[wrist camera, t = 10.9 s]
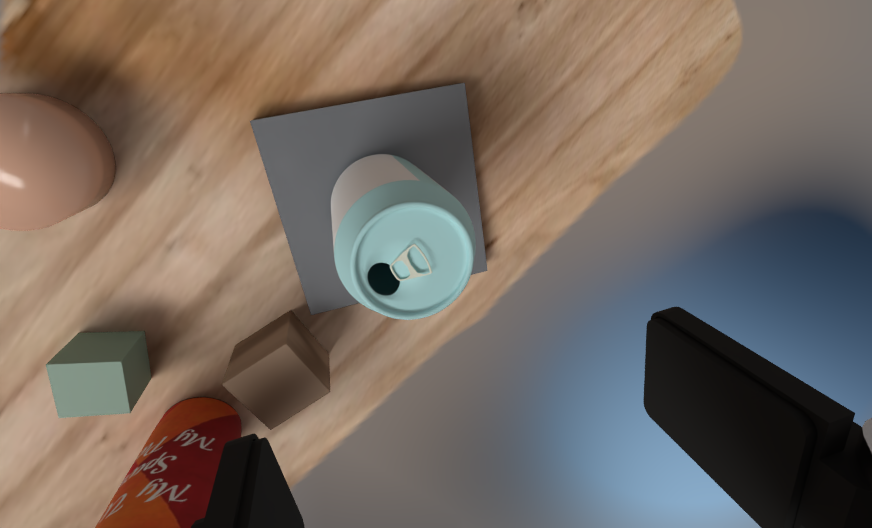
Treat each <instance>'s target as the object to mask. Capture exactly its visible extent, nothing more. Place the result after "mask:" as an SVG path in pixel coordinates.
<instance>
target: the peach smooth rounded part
mask: <svg viewBox="0 0 872 528" xmlns="http://www.w3.org/2000/svg"><path fill="white" fill-rule="evenodd" d="M115 169H116V166H115V158H114V154H113V150H112V148H111V145H110V143H109V141H108V139H107V138H106V136H105V135H104V133H103V132H102V130H101V129H100V128H99V127H98V126H97V124H96V123H95V122H94V121H93V120H92V119H91V118H89V117H88V116H87V115H86V114H84V113H83V112H82V111H80V110H79V109H77V108H76V107H74V106H72V105H70V104H68V103H66V102H64V101H62V100H59V99H56V98H54V97H50V96H46V95H40V94H30V93H0V229H6V230H15V231H30V230H37V229H42V228H46V227H49V226H52V225H54V224H56V223H59V222H61V221H63V220H65V219H67V218H69V217H71V216H73V215H75V214H77V213H79V212H81V211H83V210H85V209H87V208H89V207H91V206H93V205H95V204H96V203H98V202H99V201H100V200H101V199H103V198H104V196H105V195H106V194H107V193H108V191H109V190H110V188H111V186H112V184H113V181H114V177H115Z"/></svg>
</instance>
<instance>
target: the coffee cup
mask: <svg viewBox="0 0 872 528" xmlns="http://www.w3.org/2000/svg"><path fill="white" fill-rule="evenodd" d="M237 438H241V420H240V417H239V415H238V413H237V412H236V411H235V410H234V409H233V408H232V407H231V406H230V405H228V404H227V403H225V402H223V401H220V400H217V399H214V398H207V397H197V398H191V399H187V400H184V401H181V402H179V403H177V404H175V405H174V406H172V407H171V408H170V409H169V410H168V411H167V412H166V413H165V414H164V416H163V417H162V419H161V420H160V422H159V423H158V425H157V426H156V428H155V429H154V431H153V433H152V434H151V436H150V437H149V439H148V441H147V442H146V444H145V446H144V447H143V449H142V451H141V452H140V454H139V455H138V457H137V459H136V460H135V462H134V464H133V465H132V467H131V469H130V470H129V472H128V474H127V475H126V477H125V479H124V480H123V482H122V484H121V485H120V487H119V489H118V490H117V492H116V494H115V495H114V497H113V499H112V500H111V502H110V504H109V505H108V507H107V509H106V510H105V512H104V514H103V515H102V517H101V519H100V520H99V522H98V524H97V525H96V527H95V528H191V526H192V525H193V523H194V522H195V521H196V520H199V519H201V518H204V517H205V515H206V511H207V507H208V503H209V500H210V496H211V492H212V488H213V485H214V481H215V477H216V474H217V470H218V466H219V462H220V459H221V455H222V451H223V448H224V445H225V443H226V442H227V441H231V440H234V439H237Z"/></svg>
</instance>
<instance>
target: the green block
mask: <svg viewBox="0 0 872 528" xmlns="http://www.w3.org/2000/svg"><path fill="white" fill-rule="evenodd" d="M46 367H47V372H48V376H49V380H50V384H51V388H52V392H53V396H54V400H55V405H56V409H57V413H58V417H59V418H66V417H81V416H95V415H110V414H124V413H131V411H132V409H133V408H134V406H135V404H136V403H137V401H138V399H139V398H140V396H141V395H142V393H143V391H144V390H145V388H146V386H147V385H148V383H149V381H150V380H151V372H150V365H149V358H148V351H147V345H146V338H145V331H129V332H93V333H78V334H77V335H76V336H75V337H74V338H73V339H72V340H71V341H70V342H69V343H68V344H67V345H66V346H65V347H64V348H63V349H62V350H60V351H59V352H58V353H57V354H56V355H55V356H54V357H53V358H52V359H51V360H50V361H49V362H48V363H47V364H46Z"/></svg>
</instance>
